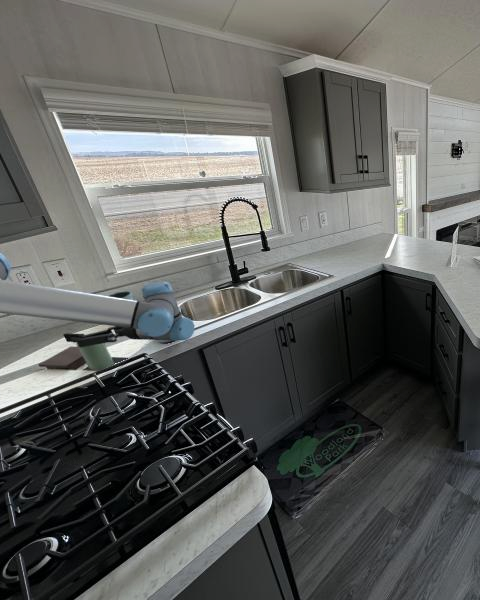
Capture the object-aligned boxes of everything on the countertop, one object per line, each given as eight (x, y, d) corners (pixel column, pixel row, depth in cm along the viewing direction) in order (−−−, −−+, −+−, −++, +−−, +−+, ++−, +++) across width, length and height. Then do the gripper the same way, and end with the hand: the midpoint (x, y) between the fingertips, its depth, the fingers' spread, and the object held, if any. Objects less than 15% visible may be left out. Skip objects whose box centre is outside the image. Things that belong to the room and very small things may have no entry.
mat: (102, 379, 118) (102, 378, 118) (70, 378, 119) (70, 377, 119) (132, 358, 130) (132, 357, 129) (103, 357, 131) (102, 356, 131)
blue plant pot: (129, 311, 169) (119, 290, 164) (145, 312, 167) (136, 291, 162) (109, 321, 160) (99, 299, 155) (126, 322, 158) (116, 300, 153)
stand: (71, 374, 122) (66, 365, 120) (43, 373, 123) (38, 364, 121) (101, 355, 133) (96, 347, 131) (75, 354, 134) (70, 346, 132)
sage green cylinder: (102, 373, 121) (88, 346, 116) (85, 372, 122) (70, 345, 116) (119, 361, 127) (105, 335, 122) (102, 361, 128) (89, 335, 123)
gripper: (115, 360, 98) (53, 357, 100) (175, 319, 120) (123, 318, 122) (105, 338, 94) (40, 336, 97) (168, 301, 117) (115, 300, 119)
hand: (86, 326), depth 109 cm, fingers open, 13 cm apart
